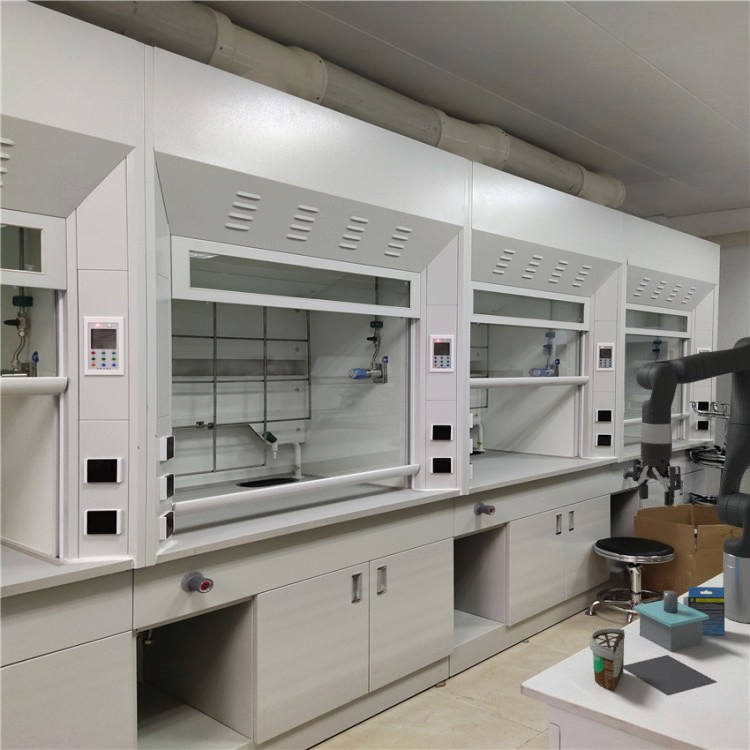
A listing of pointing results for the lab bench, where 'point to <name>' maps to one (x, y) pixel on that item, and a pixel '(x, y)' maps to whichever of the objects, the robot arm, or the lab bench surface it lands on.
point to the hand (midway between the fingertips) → (656, 502)
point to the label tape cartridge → (708, 608)
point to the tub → (671, 634)
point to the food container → (608, 656)
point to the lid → (671, 611)
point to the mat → (668, 675)
